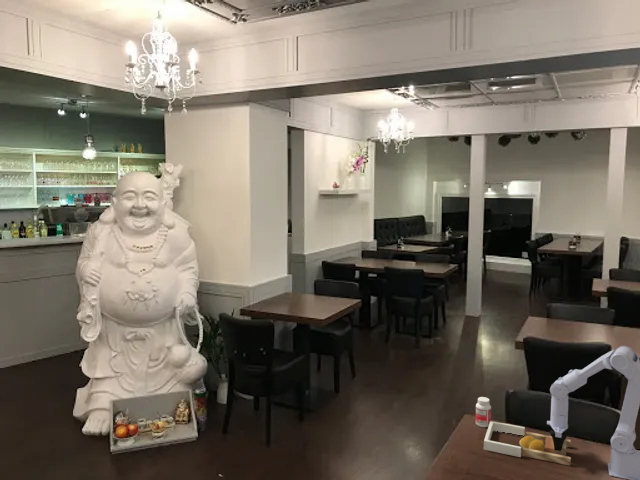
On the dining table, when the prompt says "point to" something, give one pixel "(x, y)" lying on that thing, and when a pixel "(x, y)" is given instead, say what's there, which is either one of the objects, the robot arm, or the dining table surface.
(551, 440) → the two-tone t block
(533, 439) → the bread roll
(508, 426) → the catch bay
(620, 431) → the robot arm
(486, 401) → the pill bottle
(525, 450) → the slot rails
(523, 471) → the dining table surface
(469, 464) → the dining table surface
